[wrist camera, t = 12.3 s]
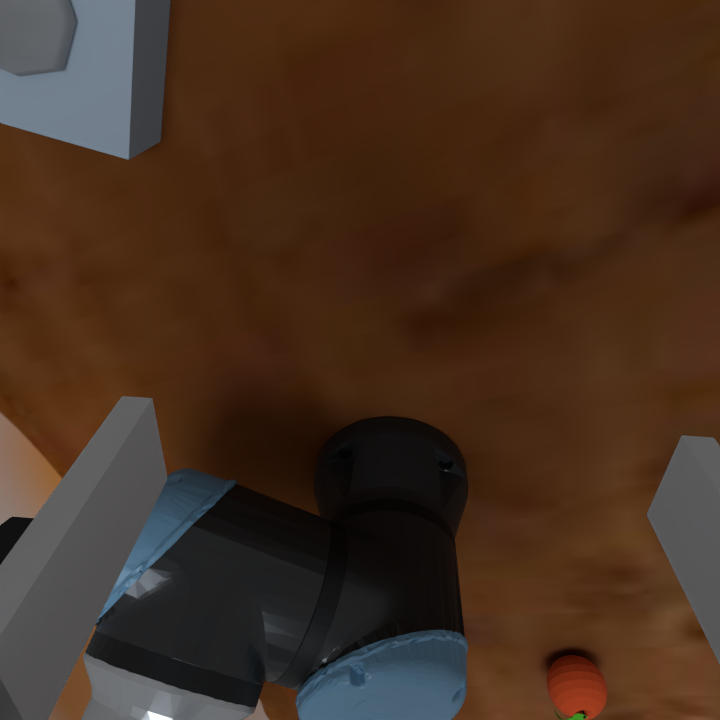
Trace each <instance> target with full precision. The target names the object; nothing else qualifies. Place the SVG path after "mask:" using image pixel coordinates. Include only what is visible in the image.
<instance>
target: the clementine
mask: <svg viewBox="0 0 720 720" xmlns="http://www.w3.org/2000/svg"><path fill="white" fill-rule="evenodd" d="M547 688H548V692H549V695H550V697H551V699H552V701H553V703H554V704H555V706H556V707H557V708H558V709H559V710H560V711H561V712H563V713H564V714H565V715H567V716H569V717H571V718H569V719H566V720H589V719H592V718H594V717H595V716H597V715H598V714H599V713H600V712H601V711H602V710H603V708H604V706H605V704H606V699H607V687H606V683H605V680H604V678H603V676H602V673H601V672H600V671H599V669H598V668H597V667H596V666H595V665H594V664H593V663H592V662H590V661H589V660H588V659H586V658H584V657H581V656H577V655H565V656H562V657H560V658H559V659H557V660H556V661H555V662H554V663H553V664H552V666H551V668H550V669H549V671H548V676H547ZM554 711H555V710H554ZM555 714H556V716H557V717H558V718H559V719H561V720H563V719H562V718H560V717H559V716H558V715H557V713H556V712H555Z"/></svg>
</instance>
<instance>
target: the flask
mask: <svg viewBox="0 0 720 720" xmlns="http://www.w3.org/2000/svg"><path fill="white" fill-rule="evenodd" d="M75 25H76V20H75V17H74V14H73V11H72V8H71V5H70V2H69V0H0V69H3V70H5V71H7V72H9V73H11V74H14V75H16V76H27V75H35V74H42V73H50V72H58V71H64V67H65V63H66V60H67V56H68V52H69V48H70V44H71V40H72V36H73V32H74V29H75Z"/></svg>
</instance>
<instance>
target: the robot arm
mask: <svg viewBox="0 0 720 720" xmlns="http://www.w3.org/2000/svg"><path fill="white" fill-rule="evenodd" d="M237 483H238V482H237V481H236V480H233V479H232V480H229V481H228V480H224V479H221V478H218V477H215V476H212V475H209V474H206V473H203V472H200V471H197V470H194V469H180V470H176V471H174V472H172V473H170V474H169V475H168V476H167V473H166V468H165V463H164V458H163V452H162V447H161V442H160V437H159V431H158V426H157V421H156V416H155V411H154V405H153V400H152V398H141V397H127V396H122V397H121V399H120V400H119V401H118V403H117V404H116V405H115V407H114V408H113V410H112V411H111V412H110V414H109V415H108V417H107V418H106V419H105V421H104V422H103V423H102V425H101V426H100V428H99V429H98V430H97V432H96V433H95V435H94V436H93V437H92V439H91V440H90V441H89V443H88V444H87V446H86V447H85V448H84V450H83V451H82V453H81V454H80V455H79V457H78V458H77V459H76V461H75V462H74V464H73V465H72V466H71V468H70V469H69V471H68V472H67V473H66V475H65V476H64V477H63V479H62V480H61V482H60V483H59V485H58V486H57V487H56V489H55V490H54V491H53V493H52V495H51V496H50V497H49V498H48V500H47V501H46V503H45V504H44V505H43V507H42V508H41V510H40V511H39V512H38V514H37V515H36V516H35V518H22V517H11V518H9V519H8V520H7V521H6V522H4V523H3V524H1V526H0V720H48V718H49V716H50V714H51V712H52V710H53V708H54V706H55V704H56V702H57V700H58V698H59V696H60V694H61V692H62V690H63V688H64V686H65V684H66V682H67V680H68V678H69V676H70V674H71V672H72V670H73V668H74V666H75V664H76V662H77V660H78V658H79V656H80V654H81V652H82V650H83V648H84V646H85V644H86V642H87V640H88V638H89V636H90V634H91V632H92V629H93V628H94V626H95V625H97V627H96V630H95V632H94V635H93V637H92V639H91V641H90V643H89V645H88V647H87V649H86V651H85V654H84V656H83V660H84V663H85V666H86V669H87V672H88V675H89V679H90V682H91V685H92V697H91V699H90V701H89V704H88V706H87V708H86V710H85V713H84V715H83V717H82V719H81V720H243V719H244V718H246V717H248V716H249V715H251V714H253V713H254V711H255V709H256V705H257V703H258V699H259V696H260V693H261V690H262V687H263V684H264V682H265V681H269V682H273V683H275V684H278V685H281V686H285V687H288V688H291V689H294V690H296V691H298V692H297V697H296V702H295V703H296V707H297V711H298V716H299V719H300V720H452V718H453V717H454V716H455V715H456V714H457V713H458V711H459V710H460V708H461V706H462V704H463V702H464V700H465V696H466V691H467V656H466V653H467V651H468V644H467V641H466V638H465V635H464V626H463V616H462V606H461V596H460V586H459V576H458V566H457V556H456V547H455V536H456V533H457V530H458V527H459V524H460V520H461V517H462V514H463V511H464V508H465V504H466V501H467V496H468V480H467V472H466V466H465V462H464V459H463V457H462V455H461V453H460V451H459V450H458V448H457V447H456V445H455V444H454V443H453V442H452V441H451V440H450V439H449V438H448V437H447V436H445V435H444V434H443V433H441V432H440V431H438V430H436V429H435V428H433V427H431V426H428V425H426V424H424V423H421V422H418V421H414V420H410V419H404V418H394V417H384V418H374V419H368V420H364V421H360V422H357V423H355V424H352V425H350V426H348V427H346V428H344V429H342V430H341V431H339V432H338V433H336V434H335V435H334V436H333V437H332V438H331V439H330V440H329V441H328V442H327V443H326V444H325V446H324V447H323V449H322V451H321V452H320V455H319V457H318V460H317V465H316V471H315V476H314V493H315V498H316V502H317V506H318V510H319V514H320V516H317V515H314V514H312V513H309V512H307V511H304V510H302V509H299V508H297V507H294V506H291V505H289V504H286V503H284V502H281V501H279V500H276V499H274V498H271V497H269V496H266V495H264V494H261V493H258V492H256V491H253V490H251V489H248V488H246V487H243V486H241V485H238V484H237ZM647 516H648V519H649V521H650V523H651V525H652V527H653V529H654V531H655V533H656V535H657V537H658V539H659V541H660V543H661V545H662V547H663V549H664V551H665V553H666V555H667V557H668V560H669V562H670V564H671V566H672V568H673V570H674V572H675V574H676V576H677V578H678V580H679V582H680V584H681V586H682V588H683V590H684V592H685V594H686V596H687V598H688V600H689V603H690V605H691V607H692V609H693V611H694V613H695V615H696V617H697V619H698V621H699V623H700V625H701V627H702V629H703V631H704V633H705V635H706V637H707V639H708V641H709V643H710V646H711V648H712V650H713V652H714V654H715V656H716V658H717V660H718V662H719V664H720V446H719V444H718V443H717V442H716V440H715V439H714V438H710V437H696V436H681V438H680V440H679V443H678V445H677V447H676V449H675V452H674V454H673V456H672V458H671V461H670V463H669V465H668V467H667V470H666V472H665V474H664V476H663V479H662V481H661V483H660V486H659V488H658V490H657V492H656V495H655V497H654V499H653V501H652V504H651V506H650V508H649V510H648V513H647Z"/></svg>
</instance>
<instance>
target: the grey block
mask: <svg viewBox="0 0 720 720" xmlns="http://www.w3.org/2000/svg"><path fill="white" fill-rule="evenodd" d="M69 2H70V5H71V8H72V11H73V14H74V17H75V20H76V25H75V29H74V32H73V36H72V40H71V44H70V48H69V52H68V56H67V60H66V63H65V67H64V71H58V72H50V73H42V74H35V75H27V76H16V75H14V74H11V73H9V72H7V71H5V70H3V69H0V123H2V124H6V125H9V126H13V127H16V128H20V129H23V130H27V131H30V132H34V133H37V134H41V135H44V136H48V137H51V138H55V139H58V140H62V141H65V142H69V143H72V144H76V145H79V146H83V147H86V148H90V149H93V150H97V151H100V152H104V153H107V154H110V155H114V156H117V157H121V158H124V159H128V160H129V159H131V158H133V157H134V156H136V155H138V154H140V153H141V152H143V151H145V150H147V149H148V148H150V147H152V146H154V145H155V144H157V143H159V142H160V140H161V126H162V112H163V98H164V84H165V70H166V56H167V42H168V28H169V14H170V0H69Z"/></svg>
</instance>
